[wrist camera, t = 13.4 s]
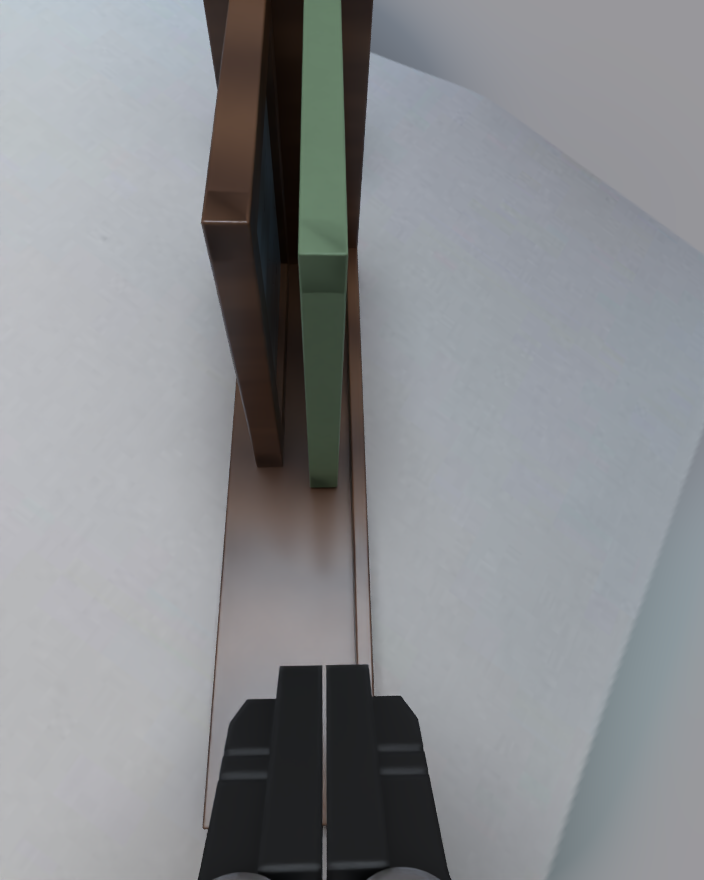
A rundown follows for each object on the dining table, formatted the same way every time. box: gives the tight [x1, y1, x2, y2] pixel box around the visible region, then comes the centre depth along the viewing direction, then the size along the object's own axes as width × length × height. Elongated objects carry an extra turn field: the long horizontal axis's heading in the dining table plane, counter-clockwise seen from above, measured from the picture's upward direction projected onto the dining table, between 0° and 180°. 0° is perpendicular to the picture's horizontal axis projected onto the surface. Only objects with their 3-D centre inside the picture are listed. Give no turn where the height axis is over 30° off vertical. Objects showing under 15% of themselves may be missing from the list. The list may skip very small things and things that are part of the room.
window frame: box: [201, 0, 374, 829], centre depth 21 cm, size 27×6×17 cm, turn 1°
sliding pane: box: [298, 0, 348, 487], centre depth 24 cm, size 12×1×14 cm, turn 1°
